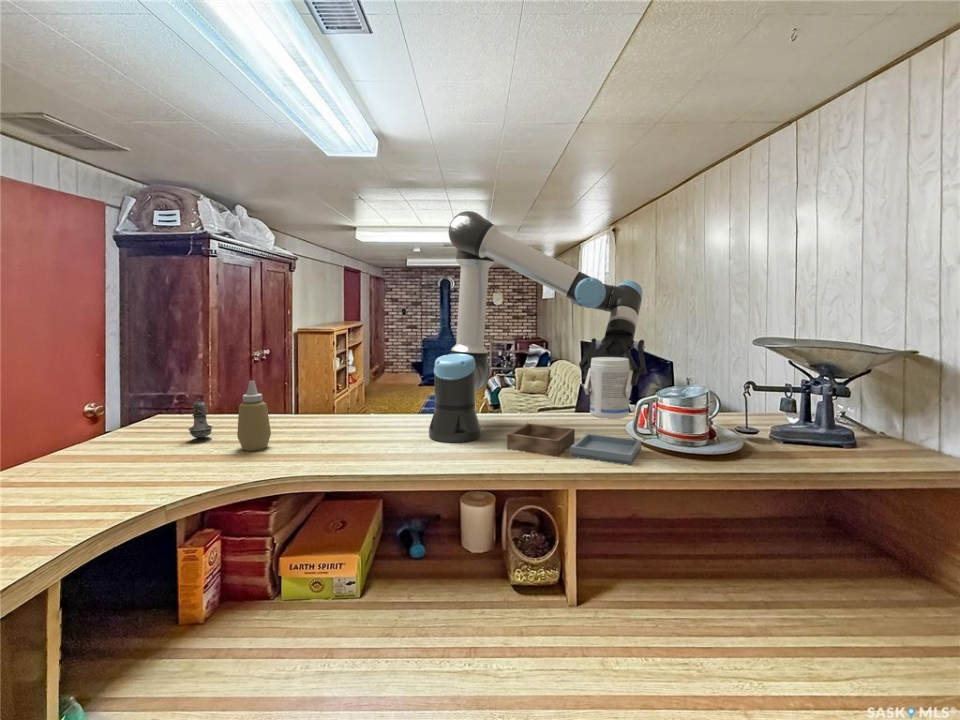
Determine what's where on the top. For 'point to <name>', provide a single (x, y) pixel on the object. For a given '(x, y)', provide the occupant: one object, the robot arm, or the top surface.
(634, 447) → the tray
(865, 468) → the top surface
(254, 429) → the squeeze bottle
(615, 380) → the supplement tub
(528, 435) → the tray
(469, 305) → the robot arm
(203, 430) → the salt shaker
